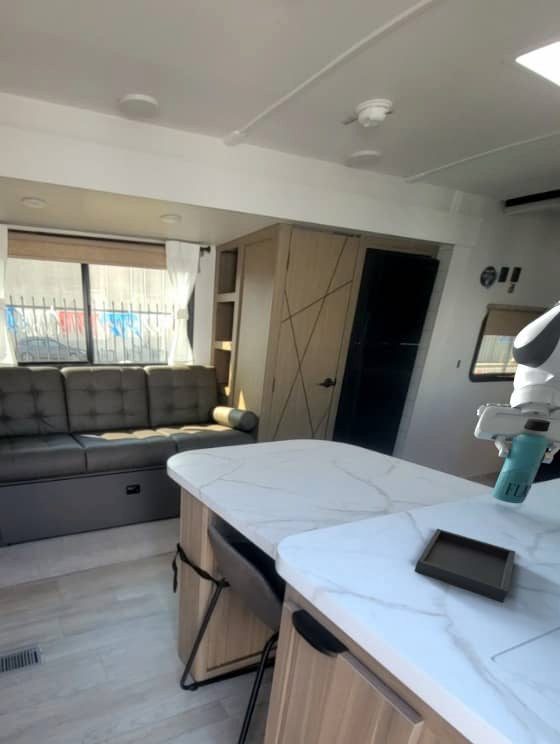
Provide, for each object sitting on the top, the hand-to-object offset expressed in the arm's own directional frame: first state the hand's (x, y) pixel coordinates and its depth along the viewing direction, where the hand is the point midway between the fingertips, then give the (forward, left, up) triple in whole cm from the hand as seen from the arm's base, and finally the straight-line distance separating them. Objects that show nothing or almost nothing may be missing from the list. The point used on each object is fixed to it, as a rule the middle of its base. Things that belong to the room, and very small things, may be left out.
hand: (524, 458), depth 91 cm
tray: (+21, +30, -13) cm, 39 cm away
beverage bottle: (0, -1, -12) cm, 12 cm away
